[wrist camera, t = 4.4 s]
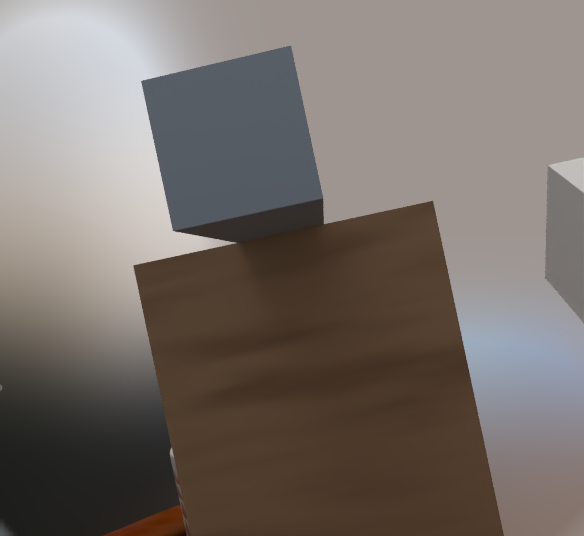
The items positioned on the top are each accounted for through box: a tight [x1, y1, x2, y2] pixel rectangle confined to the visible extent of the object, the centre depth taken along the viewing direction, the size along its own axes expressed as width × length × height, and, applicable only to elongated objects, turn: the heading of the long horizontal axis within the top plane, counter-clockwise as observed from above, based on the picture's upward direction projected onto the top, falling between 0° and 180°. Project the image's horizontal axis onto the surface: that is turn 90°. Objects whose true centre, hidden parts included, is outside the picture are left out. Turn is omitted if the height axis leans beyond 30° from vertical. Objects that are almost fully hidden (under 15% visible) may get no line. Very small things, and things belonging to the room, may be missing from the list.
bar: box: [141, 46, 324, 243], centre depth 29 cm, size 30×4×4 cm, turn 177°
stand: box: [134, 201, 504, 536], centre depth 35 cm, size 20×14×30 cm
